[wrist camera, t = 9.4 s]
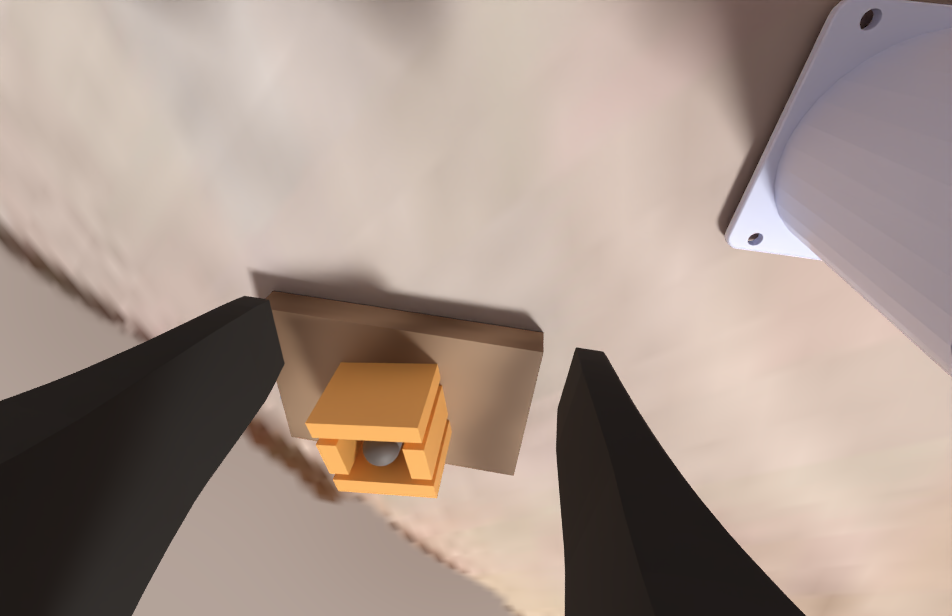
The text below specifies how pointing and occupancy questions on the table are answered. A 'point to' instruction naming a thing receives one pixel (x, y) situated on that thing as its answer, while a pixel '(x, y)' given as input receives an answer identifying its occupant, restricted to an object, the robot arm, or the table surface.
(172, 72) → the table surface
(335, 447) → the orange hollow frame block
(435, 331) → the keeper base
